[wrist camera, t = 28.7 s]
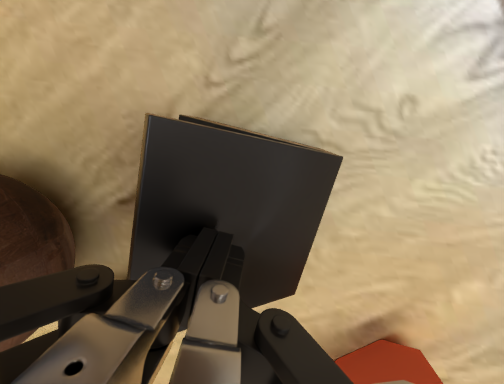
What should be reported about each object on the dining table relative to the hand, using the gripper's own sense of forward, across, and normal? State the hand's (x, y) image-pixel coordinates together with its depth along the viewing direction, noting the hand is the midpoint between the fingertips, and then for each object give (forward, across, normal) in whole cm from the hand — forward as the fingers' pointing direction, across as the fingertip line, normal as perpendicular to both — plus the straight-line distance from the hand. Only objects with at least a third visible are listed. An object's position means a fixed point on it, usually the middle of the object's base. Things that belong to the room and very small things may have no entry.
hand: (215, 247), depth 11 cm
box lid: (+2, -1, 0) cm, 3 cm away
